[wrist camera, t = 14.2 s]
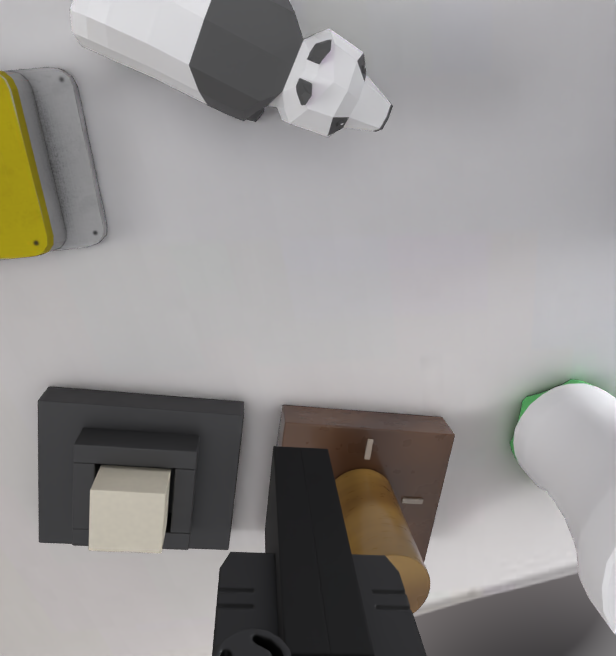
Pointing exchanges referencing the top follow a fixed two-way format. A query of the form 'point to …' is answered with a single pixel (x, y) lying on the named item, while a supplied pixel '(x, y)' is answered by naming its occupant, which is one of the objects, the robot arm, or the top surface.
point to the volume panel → (380, 453)
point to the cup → (577, 475)
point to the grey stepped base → (139, 459)
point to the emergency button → (45, 166)
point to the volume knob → (382, 529)
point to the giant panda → (238, 58)
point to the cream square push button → (129, 509)
